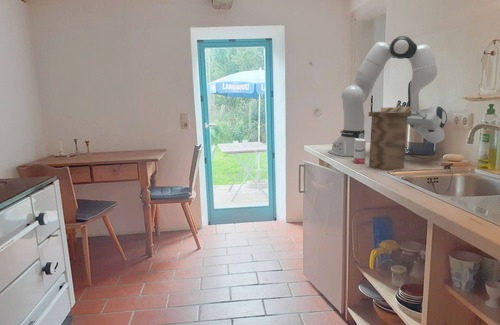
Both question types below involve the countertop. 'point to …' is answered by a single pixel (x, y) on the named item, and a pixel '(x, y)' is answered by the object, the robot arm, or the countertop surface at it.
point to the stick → (396, 109)
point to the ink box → (359, 150)
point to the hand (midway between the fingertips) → (408, 110)
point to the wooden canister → (388, 139)
